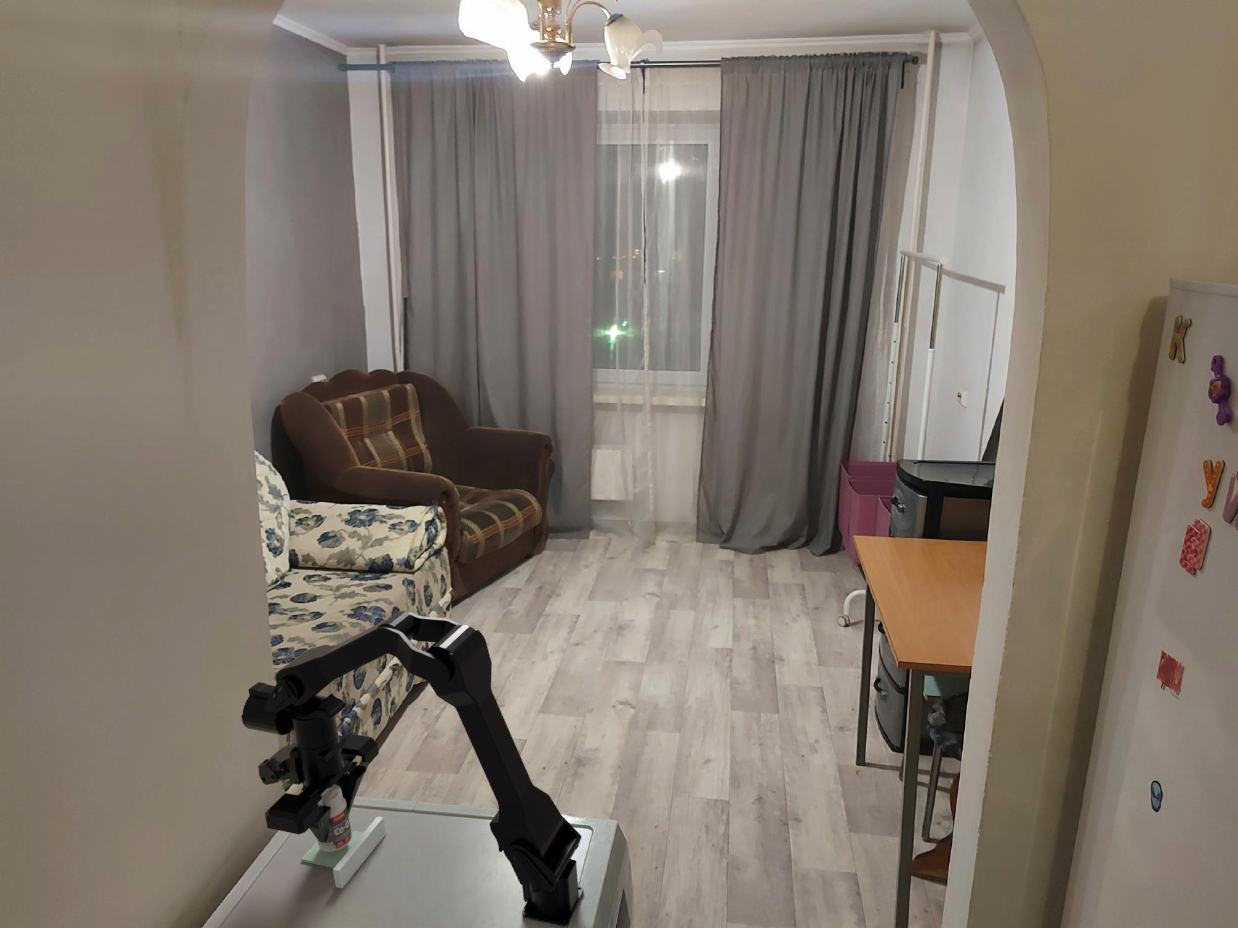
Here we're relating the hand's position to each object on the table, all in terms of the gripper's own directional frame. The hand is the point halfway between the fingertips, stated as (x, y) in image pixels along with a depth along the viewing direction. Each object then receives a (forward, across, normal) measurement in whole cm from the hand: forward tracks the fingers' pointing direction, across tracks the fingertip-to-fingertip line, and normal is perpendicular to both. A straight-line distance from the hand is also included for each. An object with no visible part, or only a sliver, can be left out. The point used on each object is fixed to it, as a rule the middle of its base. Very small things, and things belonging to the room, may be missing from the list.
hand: (333, 829), depth 125 cm
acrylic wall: (+3, +1, +5) cm, 6 cm away
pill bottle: (+2, 0, 0) cm, 2 cm away
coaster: (+3, 0, 0) cm, 3 cm away
